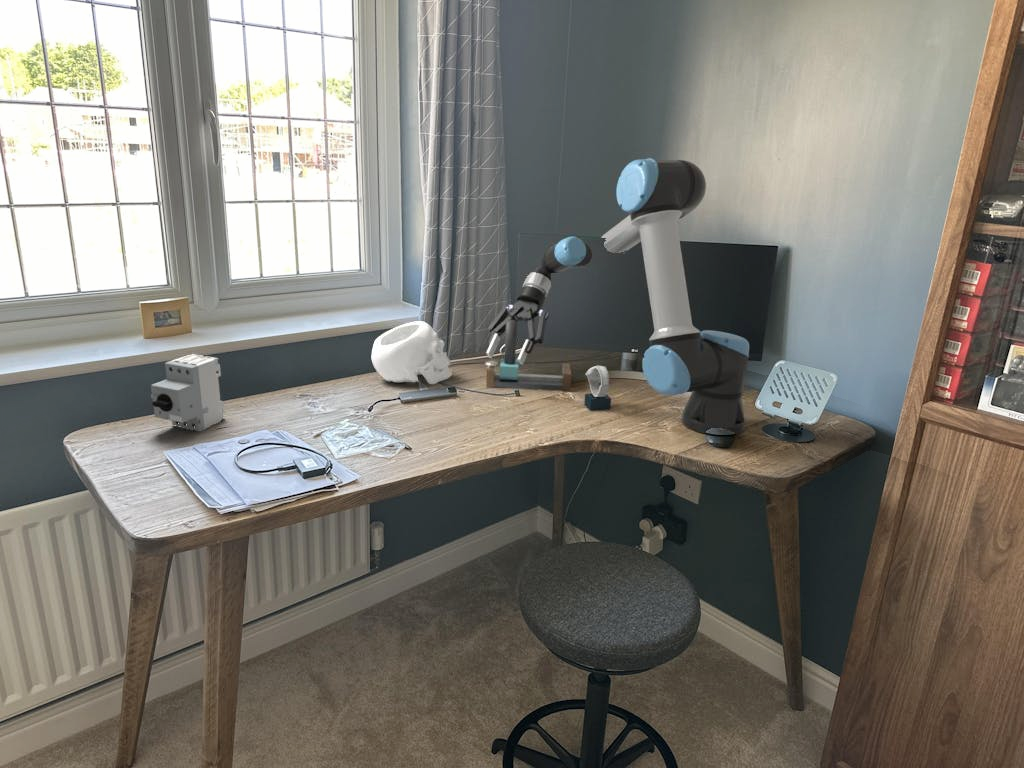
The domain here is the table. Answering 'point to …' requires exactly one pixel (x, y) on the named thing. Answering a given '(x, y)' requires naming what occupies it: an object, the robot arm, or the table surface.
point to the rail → (529, 379)
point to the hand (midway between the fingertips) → (504, 358)
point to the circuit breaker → (189, 392)
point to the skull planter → (411, 354)
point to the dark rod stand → (510, 353)
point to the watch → (598, 389)
